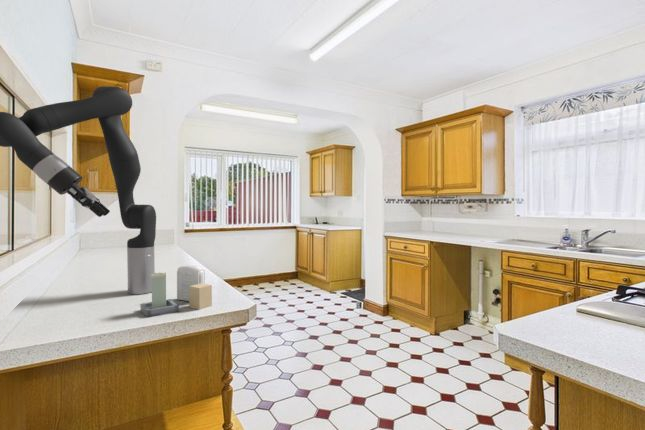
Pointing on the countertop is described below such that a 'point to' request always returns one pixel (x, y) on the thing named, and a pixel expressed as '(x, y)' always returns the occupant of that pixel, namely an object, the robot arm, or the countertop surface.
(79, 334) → the countertop surface
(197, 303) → the kraft box
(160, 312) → the slate tray
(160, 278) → the tea tin
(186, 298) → the photo printer
